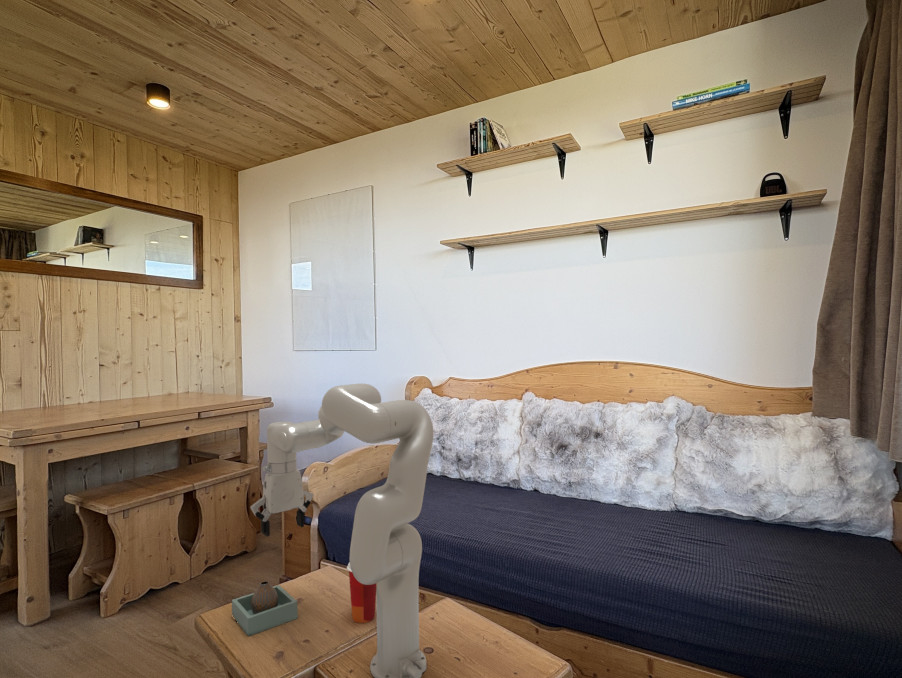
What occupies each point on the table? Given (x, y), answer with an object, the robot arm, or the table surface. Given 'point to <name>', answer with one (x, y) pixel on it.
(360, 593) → the coffee cup
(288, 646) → the table surface
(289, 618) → the bin
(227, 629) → the table surface
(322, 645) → the table surface
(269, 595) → the vase
